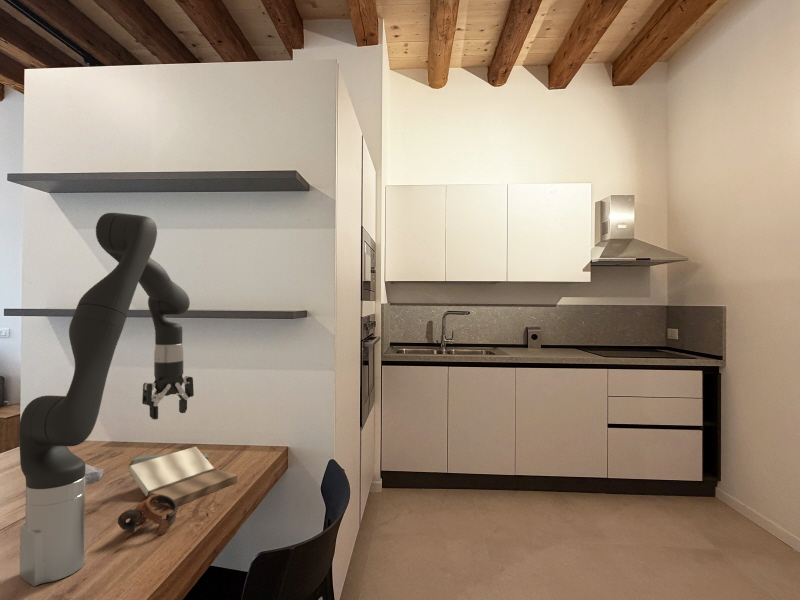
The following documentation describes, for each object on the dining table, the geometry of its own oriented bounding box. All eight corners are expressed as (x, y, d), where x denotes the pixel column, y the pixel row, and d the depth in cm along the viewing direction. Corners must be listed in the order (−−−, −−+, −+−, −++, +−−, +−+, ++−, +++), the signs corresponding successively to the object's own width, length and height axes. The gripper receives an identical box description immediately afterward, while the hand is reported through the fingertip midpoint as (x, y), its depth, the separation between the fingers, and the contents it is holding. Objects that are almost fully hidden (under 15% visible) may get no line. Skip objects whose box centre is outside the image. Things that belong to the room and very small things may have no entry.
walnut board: (172, 508, 116) (172, 499, 116) (149, 499, 121) (149, 491, 121) (237, 482, 133) (237, 474, 133) (214, 475, 139) (214, 468, 139)
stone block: (84, 477, 141) (47, 482, 132) (88, 461, 142) (51, 464, 133) (107, 486, 135) (70, 491, 127) (110, 469, 136) (74, 473, 128)
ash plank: (146, 496, 122) (148, 490, 122) (128, 471, 126) (130, 465, 126) (211, 473, 139) (214, 468, 139) (193, 451, 144) (195, 446, 143)
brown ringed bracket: (154, 517, 112) (171, 489, 112) (170, 546, 107) (188, 516, 107) (103, 524, 102) (121, 492, 102) (118, 556, 97) (137, 523, 97)
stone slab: (134, 464, 152) (131, 470, 143) (134, 455, 153) (131, 460, 144) (208, 456, 162) (209, 461, 153) (208, 448, 162) (209, 452, 153)
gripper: (152, 363, 126) (152, 423, 126) (199, 357, 138) (199, 412, 138) (136, 361, 129) (136, 419, 130) (183, 355, 142) (183, 409, 142)
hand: (169, 415), depth 134 cm, fingers open, 8 cm apart
